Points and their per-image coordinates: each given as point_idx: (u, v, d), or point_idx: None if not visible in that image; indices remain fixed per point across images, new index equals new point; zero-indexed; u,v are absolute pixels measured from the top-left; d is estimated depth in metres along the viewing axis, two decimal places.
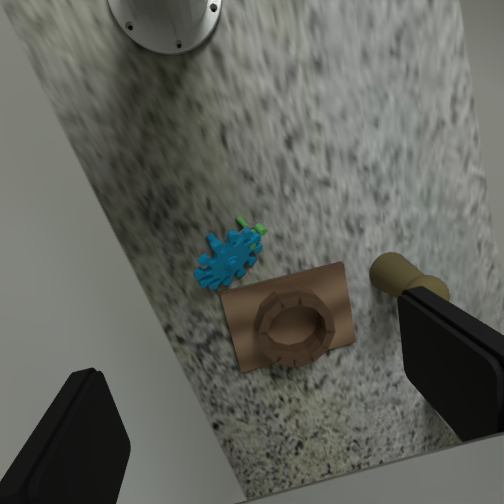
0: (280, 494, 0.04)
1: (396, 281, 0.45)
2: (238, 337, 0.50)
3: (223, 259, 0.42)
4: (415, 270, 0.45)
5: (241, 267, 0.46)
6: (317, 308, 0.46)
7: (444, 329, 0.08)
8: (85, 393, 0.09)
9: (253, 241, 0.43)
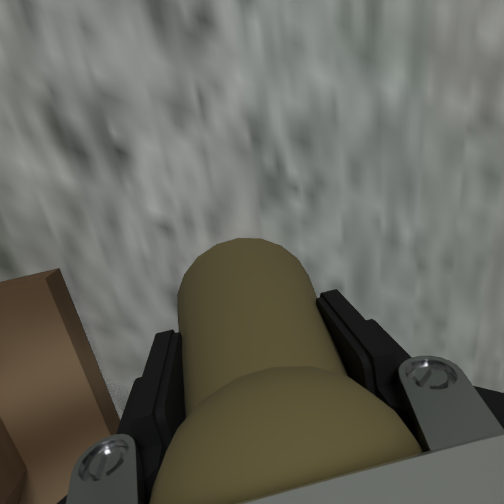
0: (280, 494, 0.04)
1: (187, 375, 0.09)
2: None
3: None
4: (279, 320, 0.09)
5: None
6: None
7: (338, 329, 0.09)
8: (175, 348, 0.10)
9: None
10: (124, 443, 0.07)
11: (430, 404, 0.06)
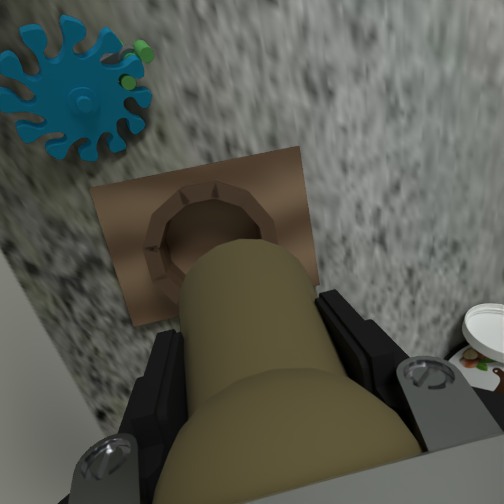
0: (280, 494, 0.04)
1: (189, 376, 0.09)
2: (125, 266, 0.30)
3: (59, 83, 0.23)
4: (281, 321, 0.09)
5: (114, 130, 0.27)
6: (247, 207, 0.26)
7: (336, 329, 0.09)
8: (176, 347, 0.10)
9: (127, 69, 0.24)
10: (126, 442, 0.07)
11: (428, 404, 0.06)
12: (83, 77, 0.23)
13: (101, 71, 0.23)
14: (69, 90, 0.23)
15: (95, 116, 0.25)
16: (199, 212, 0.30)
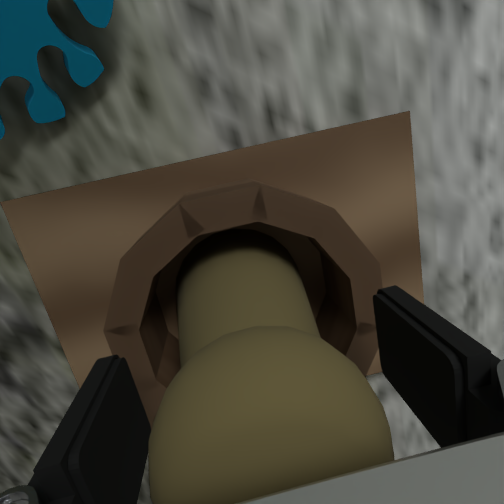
0: (280, 494, 0.04)
1: (184, 341, 0.10)
2: (82, 343, 0.16)
3: None
4: (265, 294, 0.10)
5: (33, 72, 0.13)
6: (326, 239, 0.12)
7: (411, 326, 0.08)
8: (112, 377, 0.09)
9: None
10: (27, 497, 0.06)
11: None
12: None
13: None
14: None
15: None
16: None
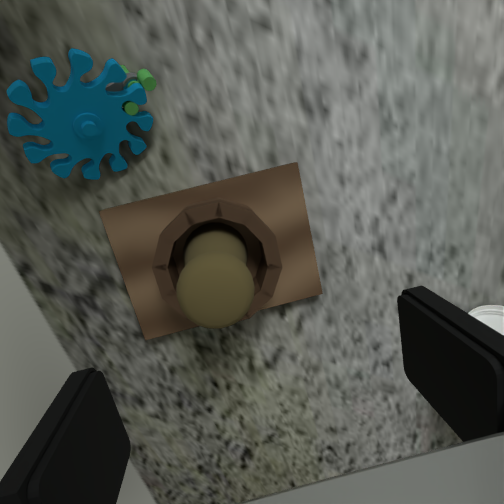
0: (280, 494, 0.04)
1: None
2: (135, 283, 0.32)
3: (66, 110, 0.24)
4: (219, 246, 0.26)
5: (116, 151, 0.28)
6: (249, 225, 0.28)
7: (444, 329, 0.08)
8: (85, 393, 0.09)
9: (130, 96, 0.26)
10: None
11: None
12: (89, 104, 0.24)
13: (106, 98, 0.25)
14: (75, 116, 0.24)
15: (99, 139, 0.27)
16: None
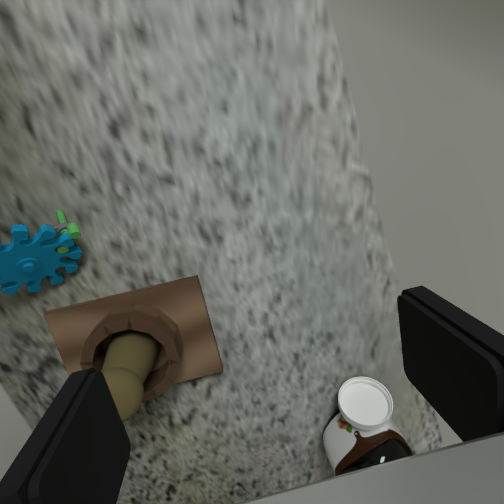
0: (280, 494, 0.04)
1: (102, 368, 0.35)
2: (73, 365, 0.41)
3: (10, 259, 0.33)
4: (125, 355, 0.35)
5: (53, 273, 0.37)
6: (153, 333, 0.37)
7: (444, 329, 0.08)
8: (85, 393, 0.09)
9: (61, 244, 0.35)
10: None
11: None
12: (28, 253, 0.34)
13: (41, 248, 0.34)
14: (17, 261, 0.34)
15: (38, 269, 0.36)
16: None
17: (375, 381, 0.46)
